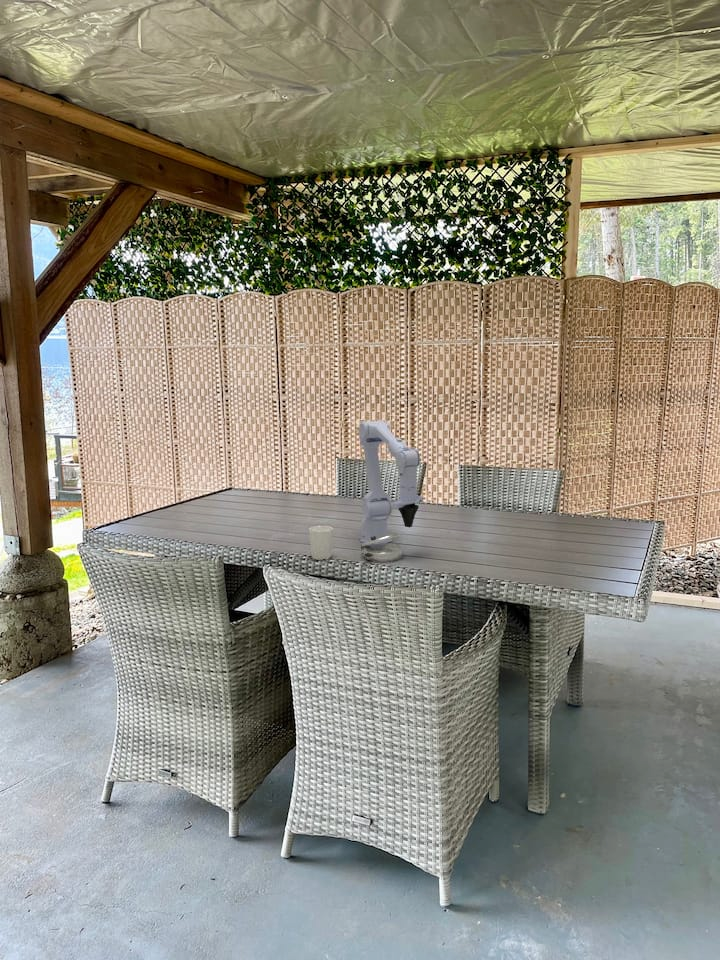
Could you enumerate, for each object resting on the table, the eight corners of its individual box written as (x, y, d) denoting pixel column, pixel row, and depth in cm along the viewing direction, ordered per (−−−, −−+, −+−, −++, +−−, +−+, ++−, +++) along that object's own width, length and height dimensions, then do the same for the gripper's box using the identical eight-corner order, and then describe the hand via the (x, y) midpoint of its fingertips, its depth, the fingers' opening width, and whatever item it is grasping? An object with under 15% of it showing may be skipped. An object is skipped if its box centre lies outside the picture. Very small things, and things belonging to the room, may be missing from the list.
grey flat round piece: (348, 557, 231) (348, 548, 231) (379, 547, 243) (378, 539, 243) (382, 565, 222) (382, 556, 221) (412, 554, 233) (412, 545, 233)
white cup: (338, 556, 233) (337, 528, 231) (321, 561, 227) (321, 532, 226) (321, 552, 238) (321, 524, 237) (305, 557, 232) (304, 528, 231)
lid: (354, 548, 231) (352, 542, 231) (380, 540, 241) (378, 534, 241) (383, 541, 222) (381, 534, 222) (409, 533, 232) (407, 526, 232)
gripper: (404, 491, 219) (404, 532, 222) (430, 484, 230) (430, 524, 232) (387, 488, 224) (387, 529, 226) (413, 482, 235) (414, 521, 237)
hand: (408, 526), depth 230 cm, fingers closed
